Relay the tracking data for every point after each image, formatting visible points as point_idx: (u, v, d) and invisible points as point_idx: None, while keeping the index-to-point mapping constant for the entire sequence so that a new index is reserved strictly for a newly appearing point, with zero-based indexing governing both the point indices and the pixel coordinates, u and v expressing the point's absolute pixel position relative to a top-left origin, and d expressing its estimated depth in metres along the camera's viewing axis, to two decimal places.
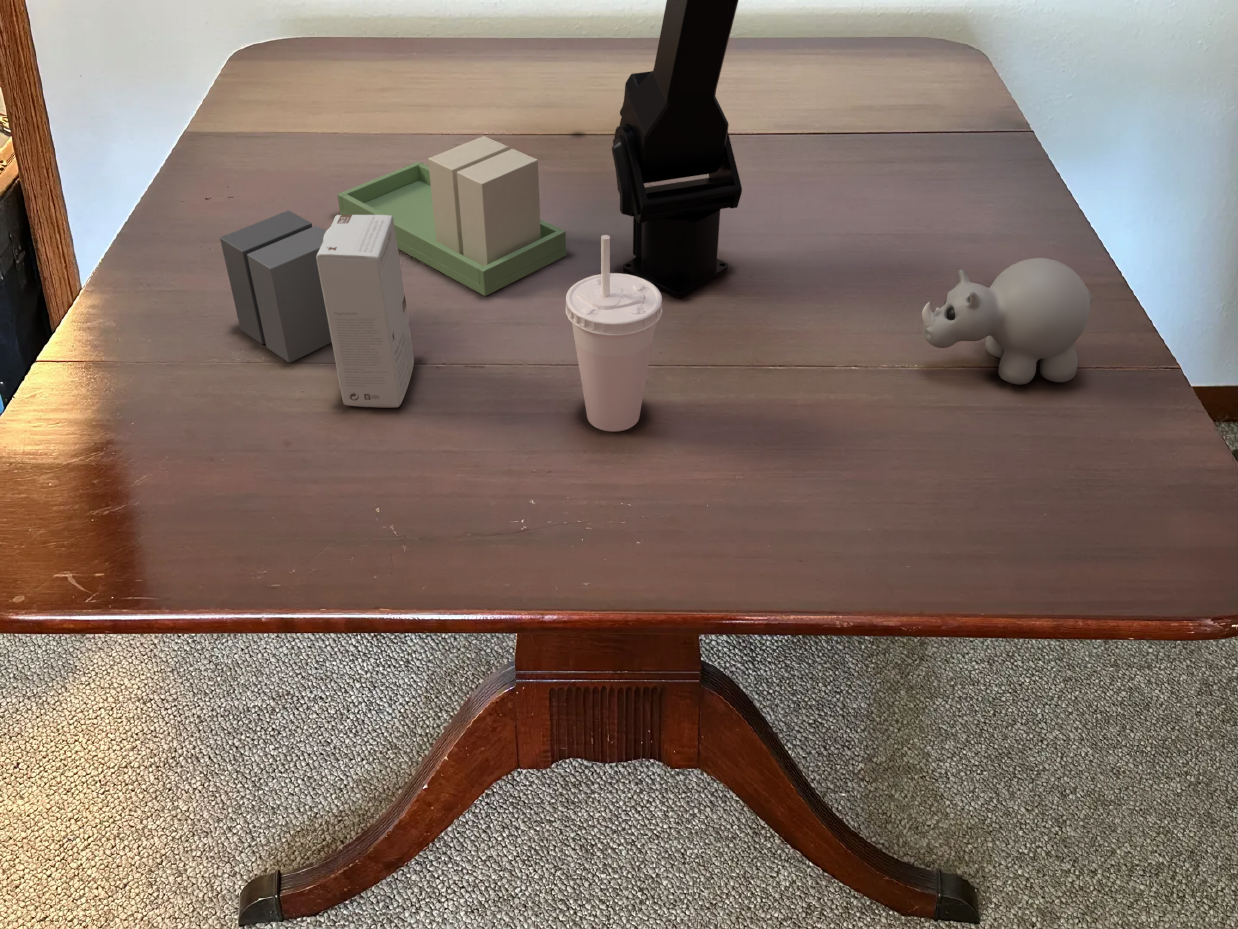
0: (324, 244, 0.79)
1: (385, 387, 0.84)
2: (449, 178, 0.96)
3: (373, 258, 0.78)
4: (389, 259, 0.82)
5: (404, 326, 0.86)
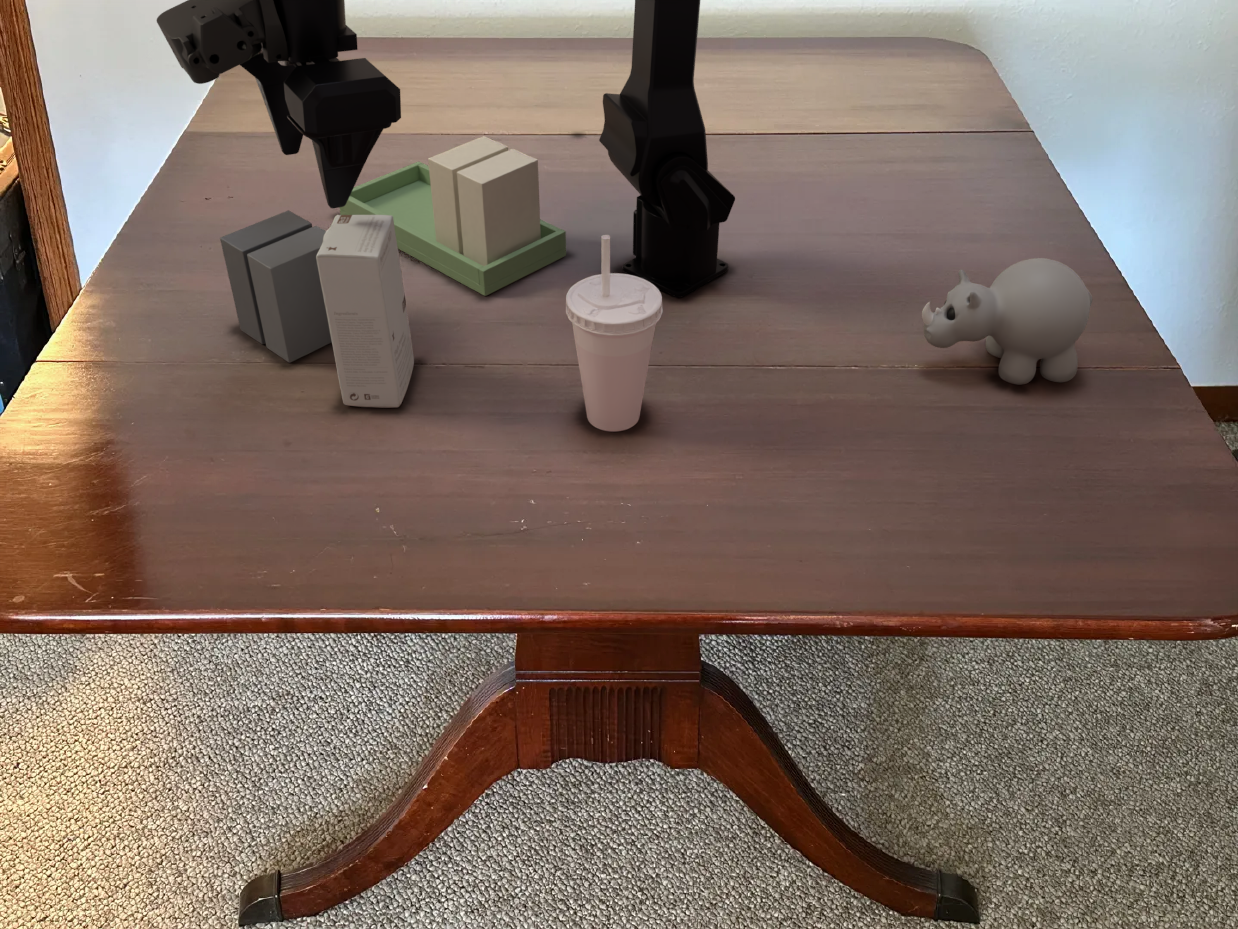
0: (324, 244, 0.79)
1: (385, 387, 0.84)
2: (449, 178, 0.96)
3: (373, 258, 0.78)
4: (389, 259, 0.82)
5: (404, 326, 0.86)
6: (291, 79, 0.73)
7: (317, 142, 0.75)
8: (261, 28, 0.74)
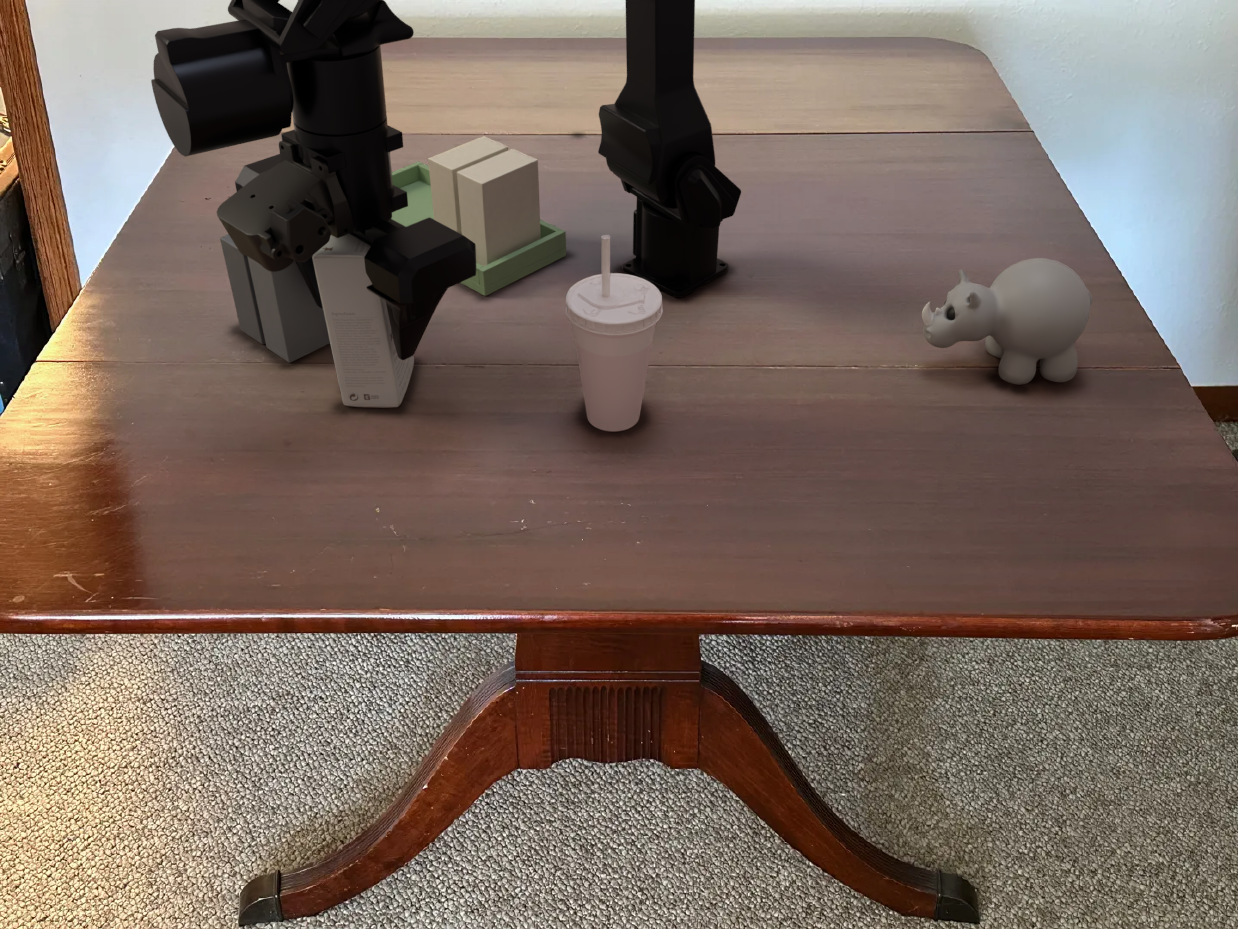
0: None
1: (384, 387, 0.84)
2: (449, 178, 0.96)
3: None
4: None
5: None
6: (372, 253, 0.74)
7: (399, 307, 0.77)
8: (329, 208, 0.74)
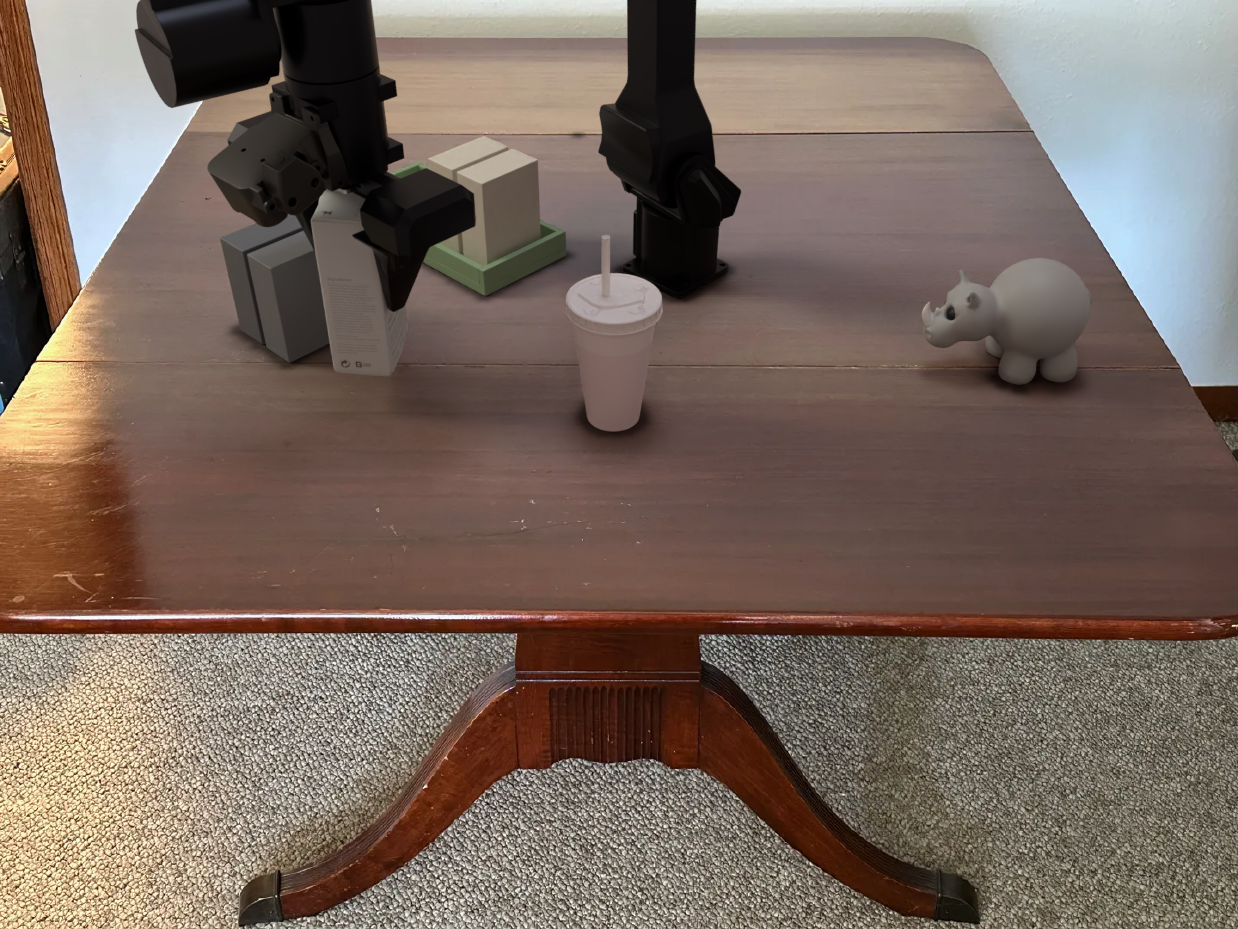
0: (319, 207, 0.77)
1: (377, 356, 0.83)
2: (449, 178, 0.96)
3: None
4: None
5: None
6: (368, 205, 0.72)
7: (386, 255, 0.75)
8: (322, 159, 0.72)
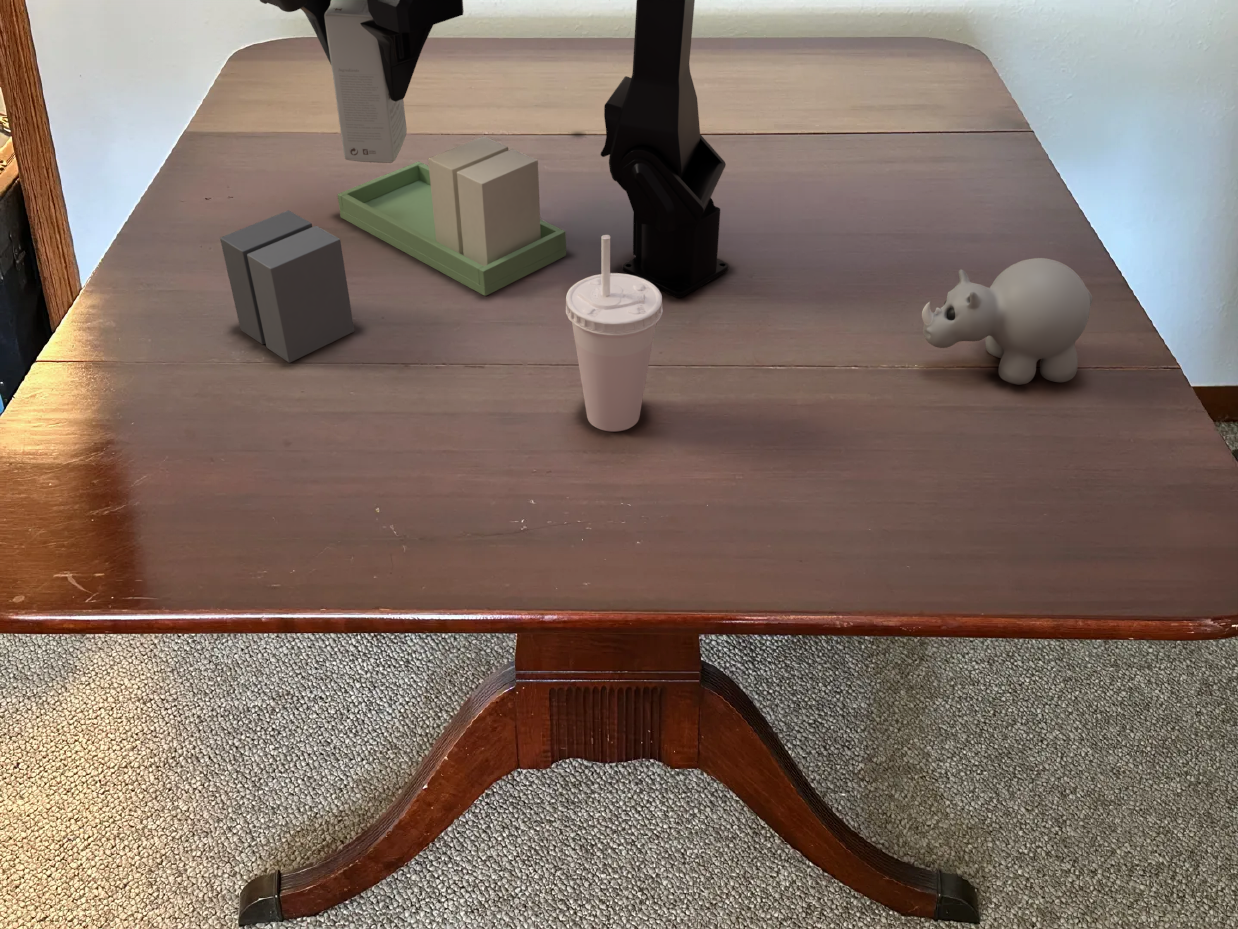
0: (331, 6, 0.92)
1: (381, 143, 0.97)
2: (449, 178, 0.96)
3: None
4: None
5: None
6: None
7: (389, 41, 0.90)
8: None
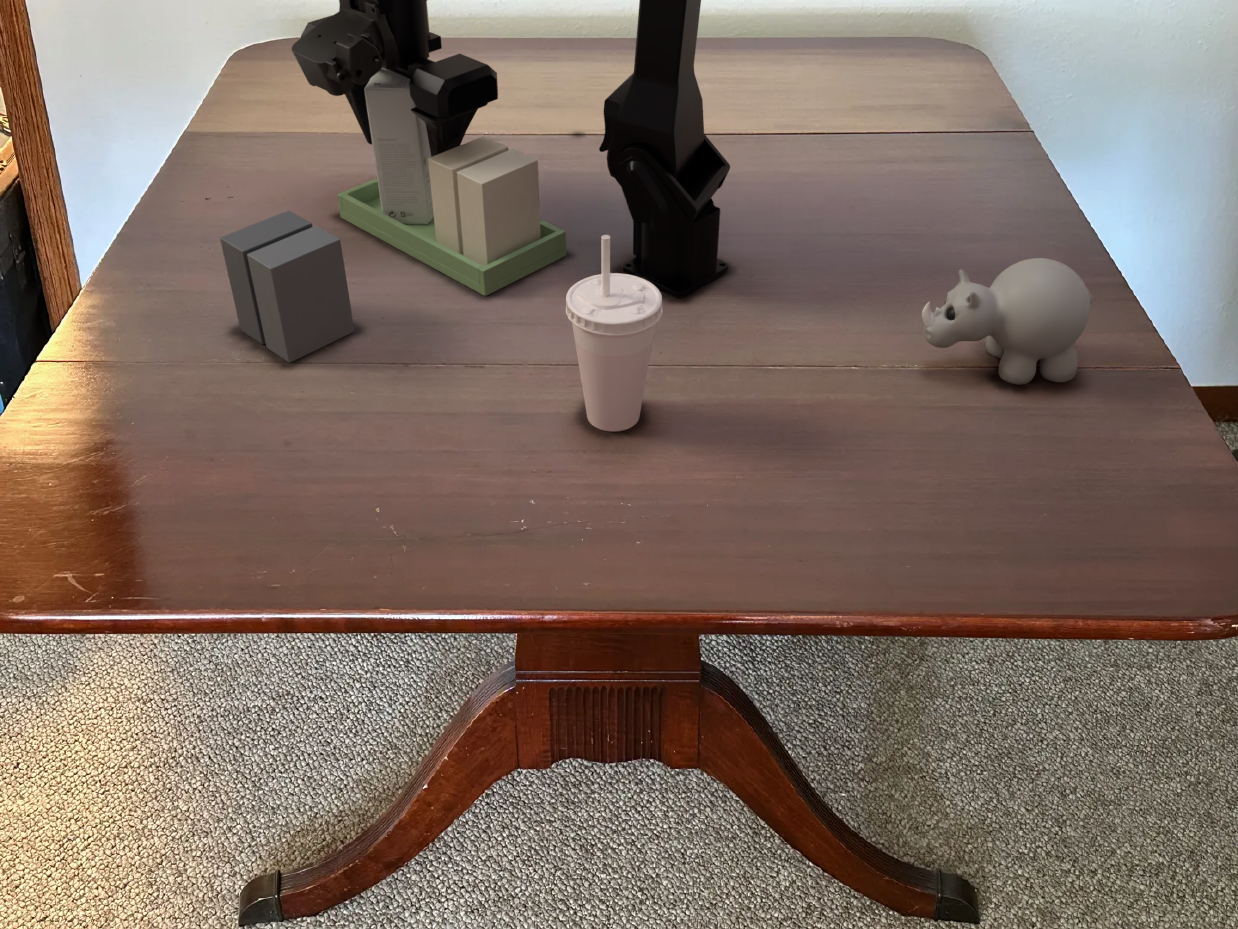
0: (370, 81, 0.98)
1: (417, 206, 1.04)
2: (449, 178, 0.96)
3: None
4: None
5: None
6: (415, 79, 0.93)
7: (437, 125, 0.96)
8: (380, 43, 0.94)
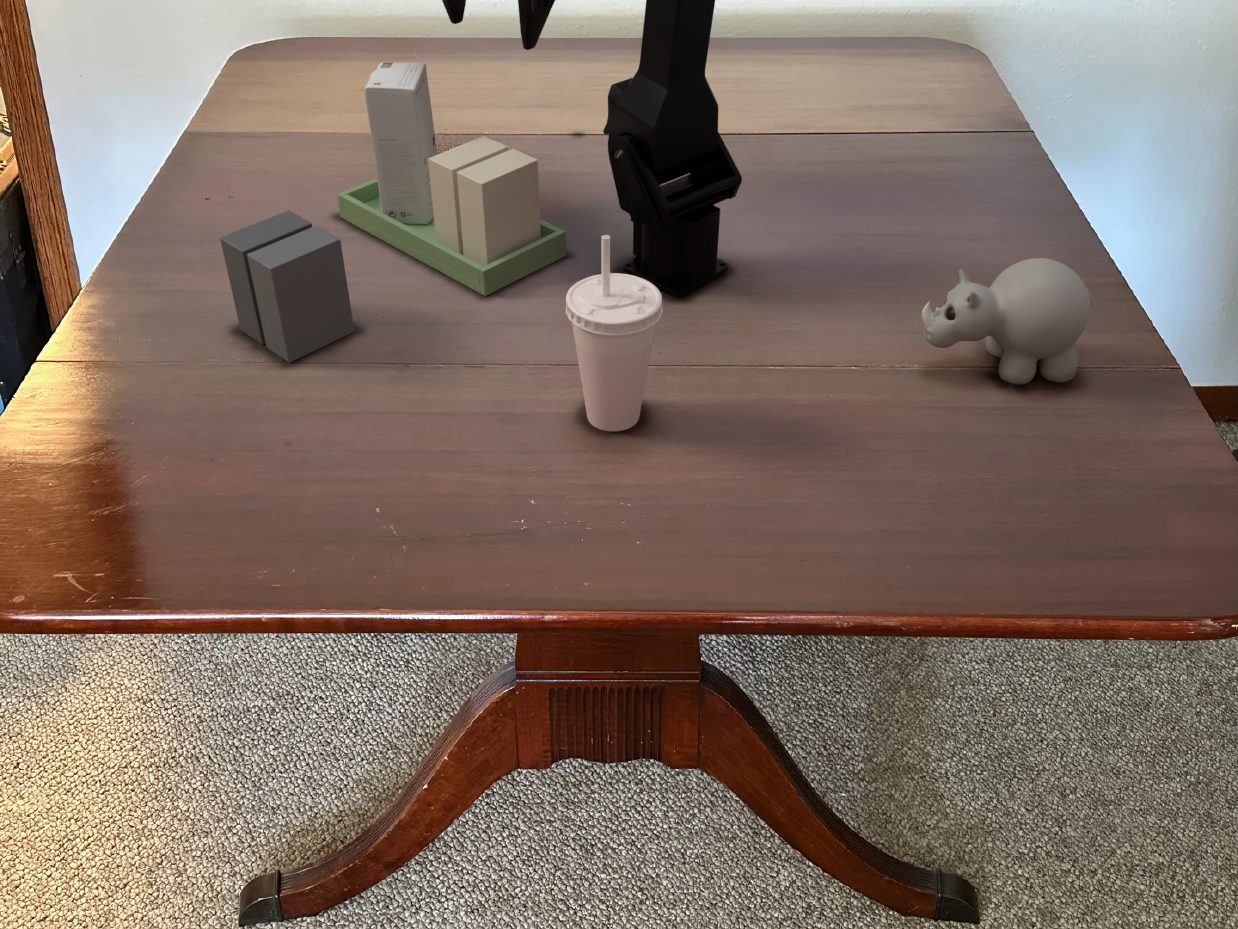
0: (370, 81, 0.98)
1: (417, 206, 1.04)
2: (449, 178, 0.96)
3: (410, 91, 0.97)
4: (422, 97, 1.01)
5: None
6: None
7: None
8: None
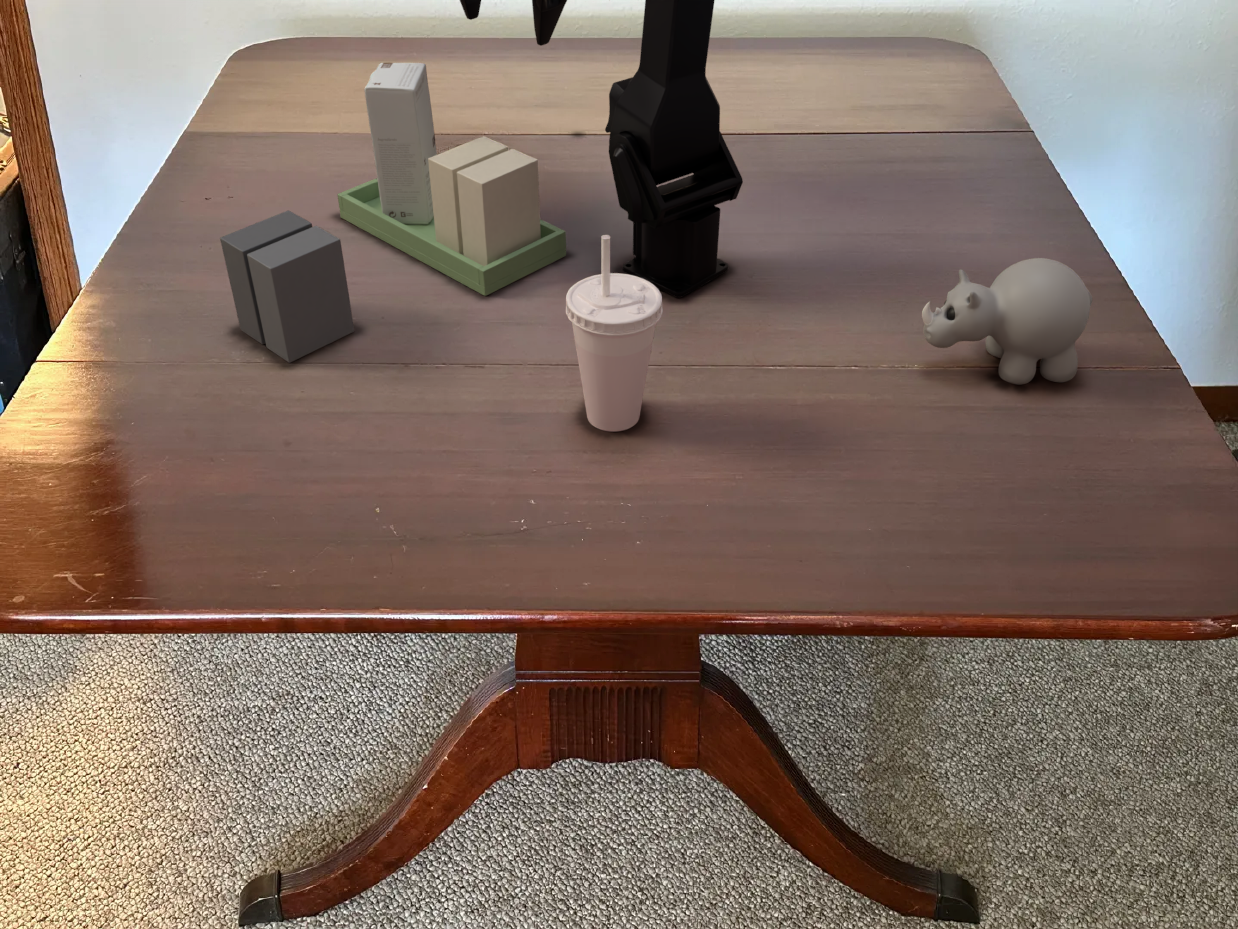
0: (370, 81, 0.98)
1: (417, 206, 1.04)
2: (449, 178, 0.96)
3: (410, 91, 0.97)
4: (422, 97, 1.01)
5: None
6: None
7: None
8: None
